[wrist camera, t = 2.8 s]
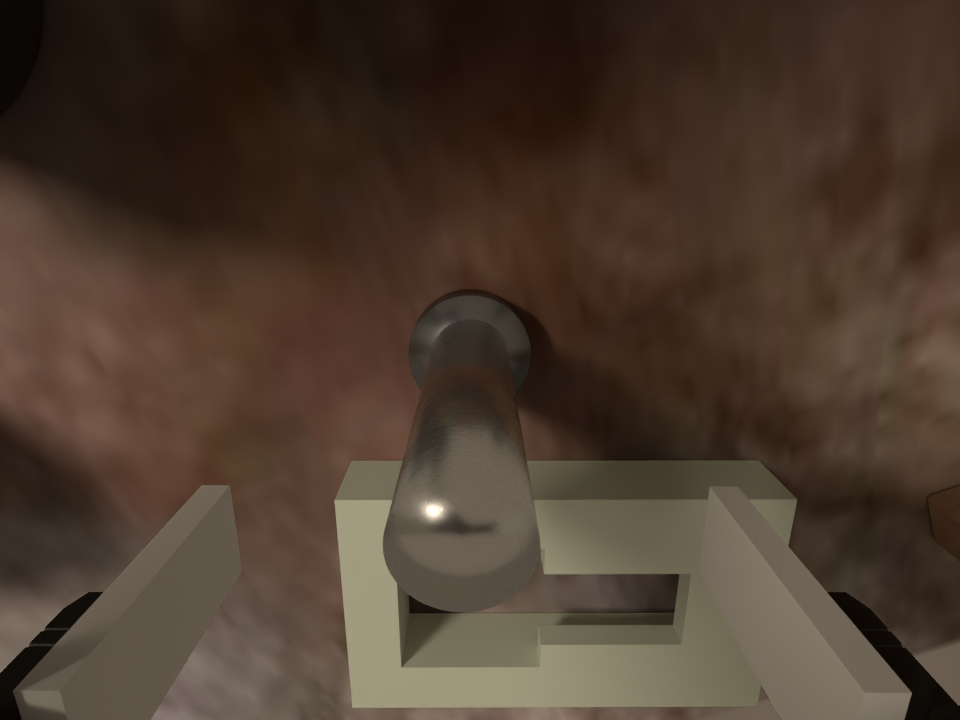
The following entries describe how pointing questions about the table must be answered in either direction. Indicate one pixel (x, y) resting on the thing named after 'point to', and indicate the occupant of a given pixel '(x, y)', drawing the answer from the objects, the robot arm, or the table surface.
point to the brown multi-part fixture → (946, 519)
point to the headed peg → (465, 460)
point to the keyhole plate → (559, 636)
